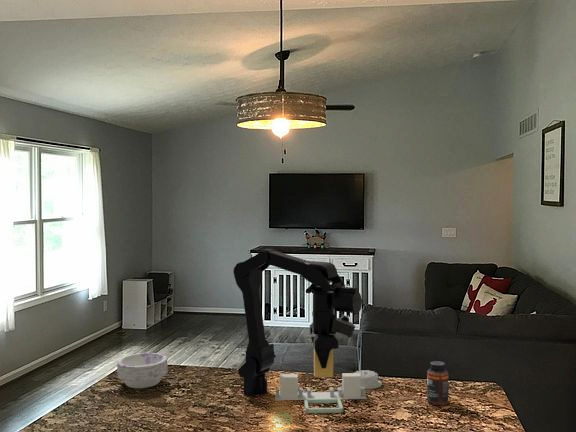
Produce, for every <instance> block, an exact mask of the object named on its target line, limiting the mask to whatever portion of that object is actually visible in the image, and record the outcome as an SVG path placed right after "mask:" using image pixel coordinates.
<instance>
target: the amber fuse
mask: <svg viewBox="0 0 576 432" xmlns="http://www.w3.org/2000/svg"><path fill="white" fill-rule="evenodd" d="M313 375H314V378H334V349H332V350H331V351H330V353H329V357H328V361H327V366H326V368H322V367H321V365H320V362H319V359H318V356H317V354H316V351H315V348H314V347H313Z"/></svg>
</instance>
